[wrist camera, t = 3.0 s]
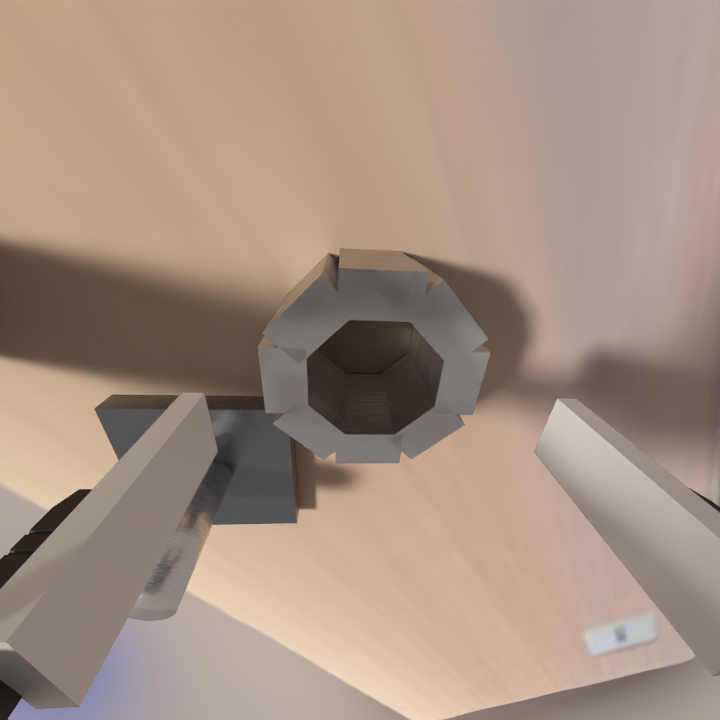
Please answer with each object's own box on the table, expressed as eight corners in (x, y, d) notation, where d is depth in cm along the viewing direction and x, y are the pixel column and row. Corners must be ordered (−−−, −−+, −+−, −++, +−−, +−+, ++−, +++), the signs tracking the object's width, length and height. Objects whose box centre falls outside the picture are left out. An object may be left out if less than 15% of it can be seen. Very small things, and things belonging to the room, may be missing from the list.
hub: (279, 245, 16) (246, 264, 10) (457, 254, 16) (513, 275, 11) (290, 397, 20) (272, 463, 15) (429, 398, 21) (458, 462, 16)
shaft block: (111, 395, 19) (-67, 536, 11) (290, 397, 20) (253, 530, 12) (160, 509, 25) (66, 661, 16) (299, 506, 26) (277, 650, 17)
